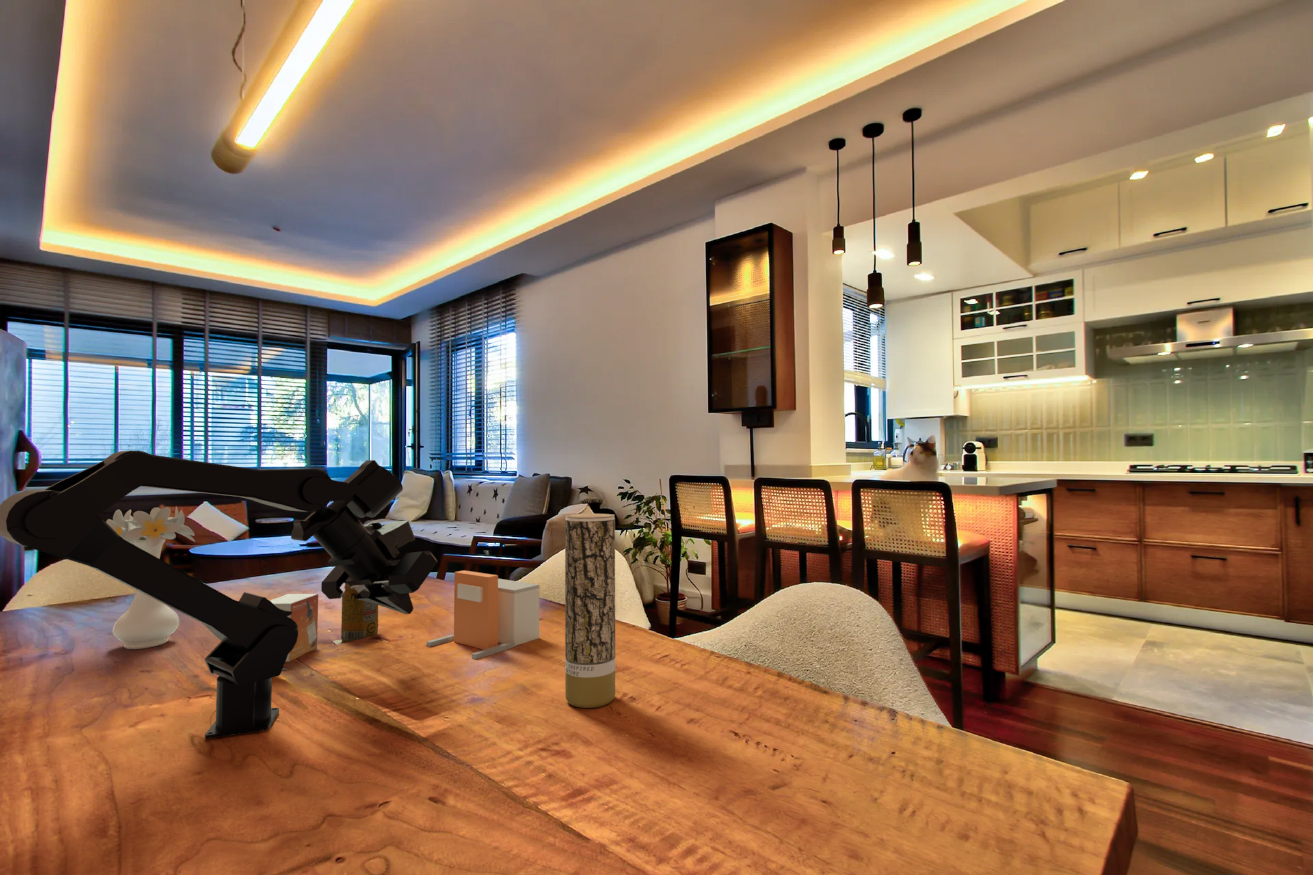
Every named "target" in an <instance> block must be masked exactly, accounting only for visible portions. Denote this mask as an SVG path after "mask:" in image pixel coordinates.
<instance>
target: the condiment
mask: <svg viewBox="0 0 1313 875" xmlns="http://www.w3.org/2000/svg"><path fill="white" fill-rule="evenodd" d="M358 594H359V593H358V592H357V591H356V590H355V589H351V588H350V586H349V584H348V583H344V591H343V596H342V597H341V622H340V623H341V624H340V626H341V628H340V630H341V631H340V632H341V634H340V637H341V638H340V639H335V640H332V642H333V643H334V644H335V645H336V646H337V645H341V644H345V643H351V642H353V641H359V640H362V639H366V638H371V637H375V636H378V632H379V605H377V604H373V603H370V602H367V601H363V600H358V599H357V598H356V596H357V595H358Z"/></svg>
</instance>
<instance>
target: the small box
mask: <svg viewBox="0 0 1313 875" xmlns="http://www.w3.org/2000/svg"><path fill="white" fill-rule="evenodd" d="M269 601H271V602H272V603H273V604H274V605H275V606H276V607H278V608H280V609H284V610H287V611H291V612H292V614H291V615H289V616H287V617H289V618H291V619H292V620H293V621H295V622H296V624H297V625H298V638H297V642H296V644H295V646H294V648H293V649H292V651H291V652H290V653H289V654H288V656H287V659H286V661H285V663H287V662H288V663H289V662H291V661H293V660H296V659H298V658H299V657H301V656H303V655H305V654H307V653H309V652H312V651H317V650H318V627H319V626H318V624H319V623H318V620H319V619H318V618H319V617H318V616H319V593H287V594H285V595H281V596H279V597H276V598H273V599H270V600H269ZM289 670H290V669H288V668H287V667H285V666H284V667H283V669H282V671H289Z"/></svg>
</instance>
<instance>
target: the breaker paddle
mask: <svg viewBox="0 0 1313 875" xmlns="http://www.w3.org/2000/svg"><path fill="white" fill-rule="evenodd" d="M498 579H499V575H497V574H491V573H484V572H478V571H470V570H459V571H454V578H453V583H454V589H453V591H454V592H453V593H454V595H453V597H454V598H453V599H454V600H453V602H454V604H453V606H454V607H453V611H454V612H453V616H454V617H453V634H454V640H453V642H454V643H457V644H461V645H465V646H467V647H468V646H469V647H472V648H476V649H481V650H485V649H488V648H491V647H495V646H498V645H499V644H498V643H499V642H498Z"/></svg>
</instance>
